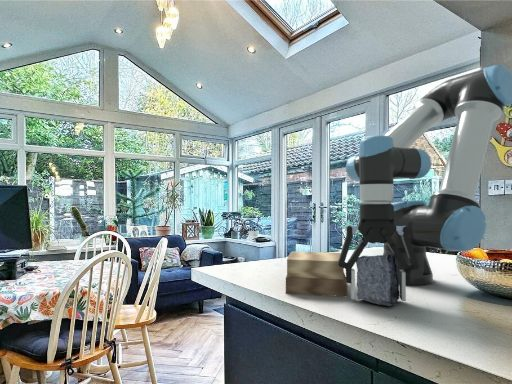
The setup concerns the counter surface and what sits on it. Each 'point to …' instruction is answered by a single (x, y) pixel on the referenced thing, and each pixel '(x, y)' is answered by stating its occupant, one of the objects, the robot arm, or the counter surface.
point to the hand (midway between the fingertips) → (377, 298)
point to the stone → (378, 279)
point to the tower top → (314, 265)
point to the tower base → (316, 286)
